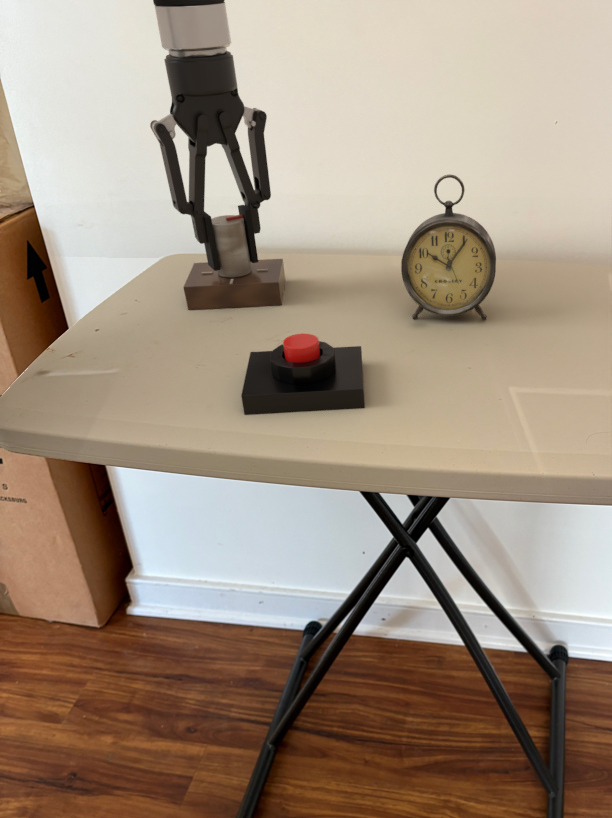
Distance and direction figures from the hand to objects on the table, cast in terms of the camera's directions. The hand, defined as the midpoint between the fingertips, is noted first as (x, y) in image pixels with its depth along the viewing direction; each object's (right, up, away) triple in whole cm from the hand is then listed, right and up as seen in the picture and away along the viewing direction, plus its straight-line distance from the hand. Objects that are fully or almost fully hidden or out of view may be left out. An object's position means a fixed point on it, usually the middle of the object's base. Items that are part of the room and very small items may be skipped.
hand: (233, 263), depth 98 cm
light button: (+12, -17, -21) cm, 30 cm away
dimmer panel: (0, -3, +3) cm, 4 cm away
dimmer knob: (0, -1, +1) cm, 1 cm away
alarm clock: (+28, -9, -5) cm, 29 cm away
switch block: (+12, -20, -19) cm, 30 cm away
